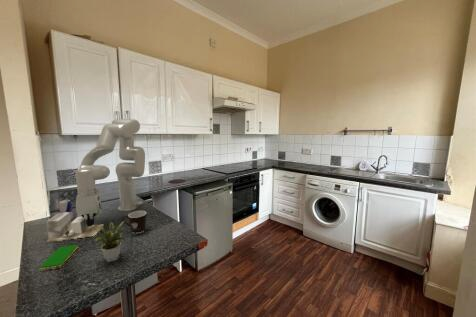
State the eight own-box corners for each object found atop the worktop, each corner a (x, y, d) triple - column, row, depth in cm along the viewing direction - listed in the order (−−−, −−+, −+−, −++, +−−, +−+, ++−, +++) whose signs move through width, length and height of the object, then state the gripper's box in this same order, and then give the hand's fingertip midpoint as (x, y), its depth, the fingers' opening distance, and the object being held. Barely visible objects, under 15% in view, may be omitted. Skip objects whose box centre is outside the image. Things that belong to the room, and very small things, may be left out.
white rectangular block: (88, 226, 109) (87, 216, 108) (80, 235, 100) (78, 224, 99) (79, 227, 108) (77, 216, 107) (69, 236, 99) (68, 225, 98)
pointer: (69, 234, 101) (68, 225, 100) (67, 237, 99) (66, 227, 98) (67, 235, 101) (66, 225, 100) (65, 237, 99) (64, 227, 98)
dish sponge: (78, 249, 93) (78, 244, 92) (61, 269, 79) (60, 263, 79) (60, 251, 91) (59, 246, 90) (39, 272, 78) (38, 267, 77)
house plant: (83, 275, 76) (78, 235, 73) (92, 254, 88) (88, 219, 86) (126, 265, 81) (123, 228, 79) (129, 247, 94) (126, 214, 91)
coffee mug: (151, 229, 110) (149, 212, 108) (137, 237, 102) (135, 219, 100) (136, 225, 114) (135, 208, 113) (122, 232, 107) (120, 214, 105)
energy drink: (75, 219, 121) (73, 200, 119) (65, 223, 116) (62, 203, 114) (69, 217, 122) (66, 199, 120) (59, 221, 117) (56, 202, 115)
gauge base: (103, 225, 113) (102, 209, 112) (94, 237, 102) (93, 218, 100) (61, 230, 108) (59, 212, 106) (47, 242, 96) (44, 223, 95)
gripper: (106, 189, 109) (109, 220, 112) (73, 190, 105) (77, 223, 108) (100, 193, 102) (104, 227, 105) (65, 195, 98) (70, 230, 101)
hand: (90, 225), depth 106 cm, fingers closed
